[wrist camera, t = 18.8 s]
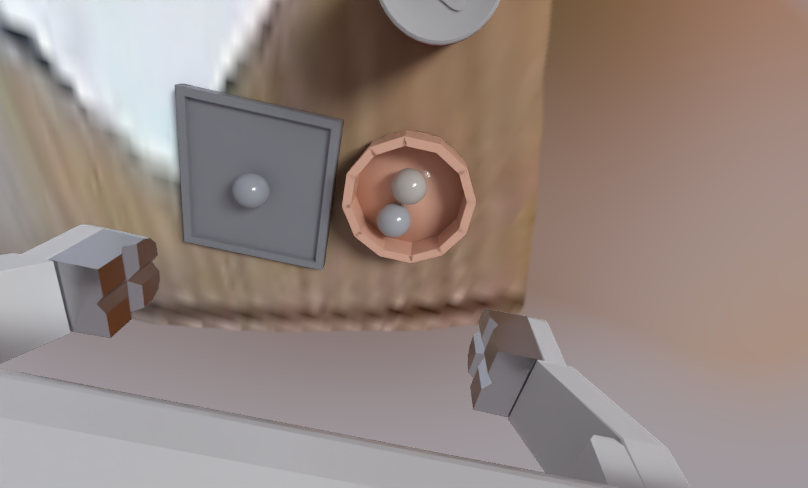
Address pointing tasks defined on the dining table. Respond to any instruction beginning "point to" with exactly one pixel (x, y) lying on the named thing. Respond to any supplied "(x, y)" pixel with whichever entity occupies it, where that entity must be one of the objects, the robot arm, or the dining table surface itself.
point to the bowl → (430, 218)
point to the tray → (264, 155)
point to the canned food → (439, 18)
